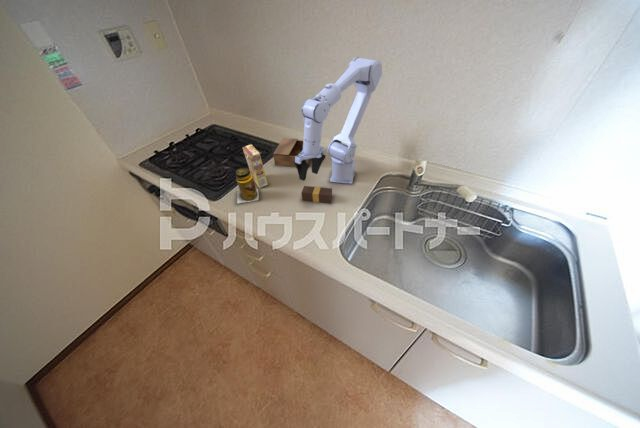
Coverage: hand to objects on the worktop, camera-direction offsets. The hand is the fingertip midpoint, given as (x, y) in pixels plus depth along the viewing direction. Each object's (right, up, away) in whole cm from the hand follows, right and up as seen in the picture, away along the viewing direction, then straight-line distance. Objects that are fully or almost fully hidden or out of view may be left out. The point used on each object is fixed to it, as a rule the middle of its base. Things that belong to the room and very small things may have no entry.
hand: (308, 176), depth 86 cm
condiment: (-25, -7, +9) cm, 27 cm away
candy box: (-22, 0, +16) cm, 27 cm away
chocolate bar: (+3, -8, +6) cm, 10 cm away
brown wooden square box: (-8, +13, +28) cm, 32 cm away
